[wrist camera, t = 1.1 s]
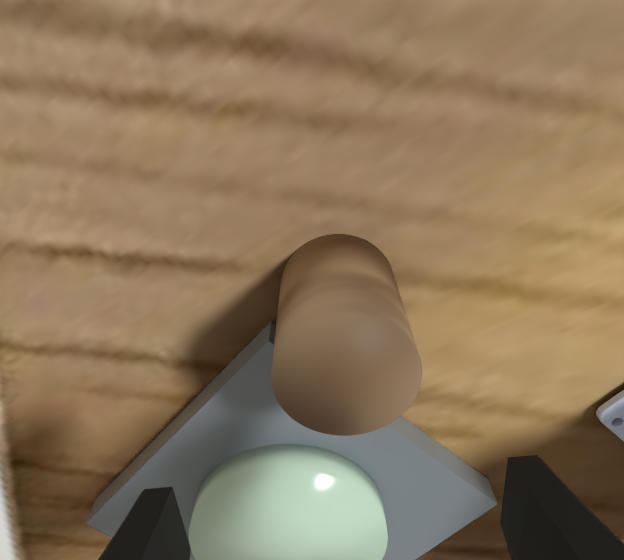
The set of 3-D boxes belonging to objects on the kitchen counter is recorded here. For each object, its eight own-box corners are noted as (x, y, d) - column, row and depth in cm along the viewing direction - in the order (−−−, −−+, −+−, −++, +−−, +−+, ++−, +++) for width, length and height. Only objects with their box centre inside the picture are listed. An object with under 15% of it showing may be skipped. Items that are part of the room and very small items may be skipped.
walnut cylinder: (417, 281, 21) (453, 373, 16) (340, 353, 23) (349, 457, 18) (333, 210, 20) (342, 284, 15) (257, 291, 21) (240, 384, 16)
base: (488, 479, 26) (508, 532, 24) (304, 607, 31) (303, 664, 28) (271, 321, 22) (265, 363, 19) (96, 498, 27) (72, 552, 24)
